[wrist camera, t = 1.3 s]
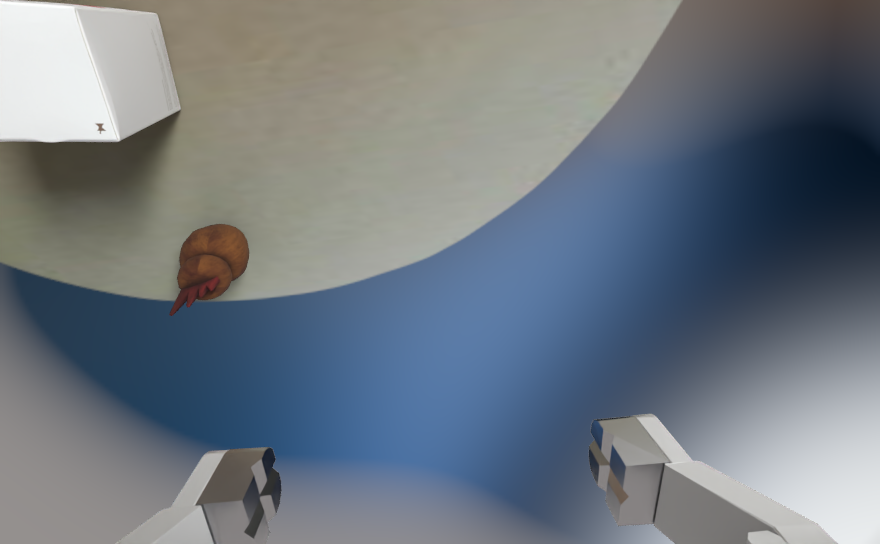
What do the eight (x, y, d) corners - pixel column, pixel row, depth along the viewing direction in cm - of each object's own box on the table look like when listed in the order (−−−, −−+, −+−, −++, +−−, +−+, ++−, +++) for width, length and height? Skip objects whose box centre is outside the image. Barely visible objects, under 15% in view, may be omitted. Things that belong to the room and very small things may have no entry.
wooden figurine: (199, 260, 52) (157, 334, 39) (189, 217, 49) (140, 283, 37) (256, 258, 54) (234, 330, 41) (250, 217, 51) (224, 280, 38)
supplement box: (159, 10, 39) (78, 4, 26) (183, 110, 44) (123, 145, 31) (46, 2, 37) (-100, -10, 24) (83, 108, 42) (-24, 144, 29)
